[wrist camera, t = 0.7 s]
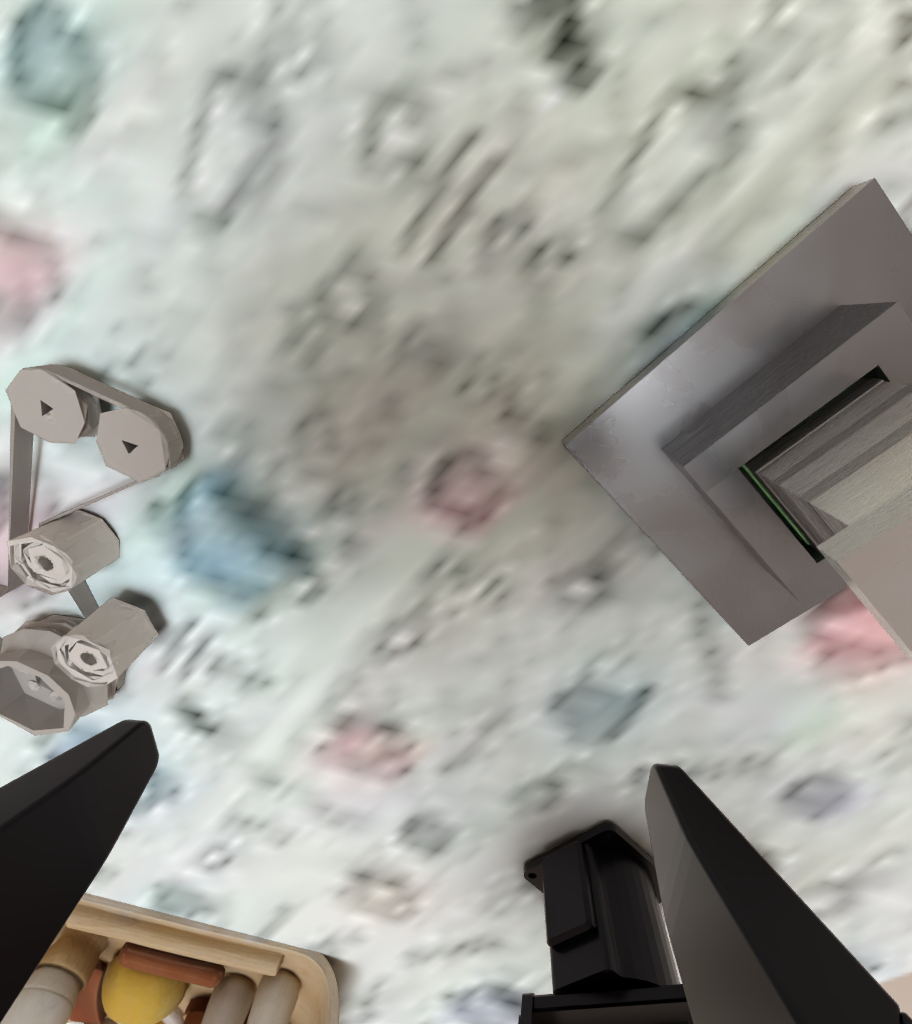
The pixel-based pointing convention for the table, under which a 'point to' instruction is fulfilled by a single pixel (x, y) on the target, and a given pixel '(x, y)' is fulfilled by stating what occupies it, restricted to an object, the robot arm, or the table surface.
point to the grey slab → (851, 494)
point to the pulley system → (73, 550)
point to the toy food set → (171, 974)
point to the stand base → (756, 408)
